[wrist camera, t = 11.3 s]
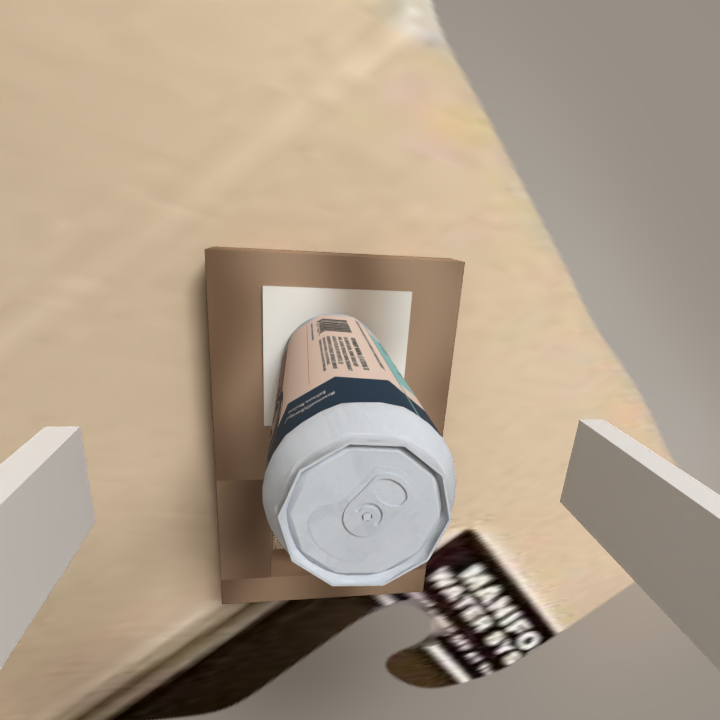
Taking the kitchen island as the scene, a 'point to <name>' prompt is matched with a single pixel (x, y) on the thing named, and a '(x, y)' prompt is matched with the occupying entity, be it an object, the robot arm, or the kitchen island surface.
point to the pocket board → (262, 370)
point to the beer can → (353, 460)
